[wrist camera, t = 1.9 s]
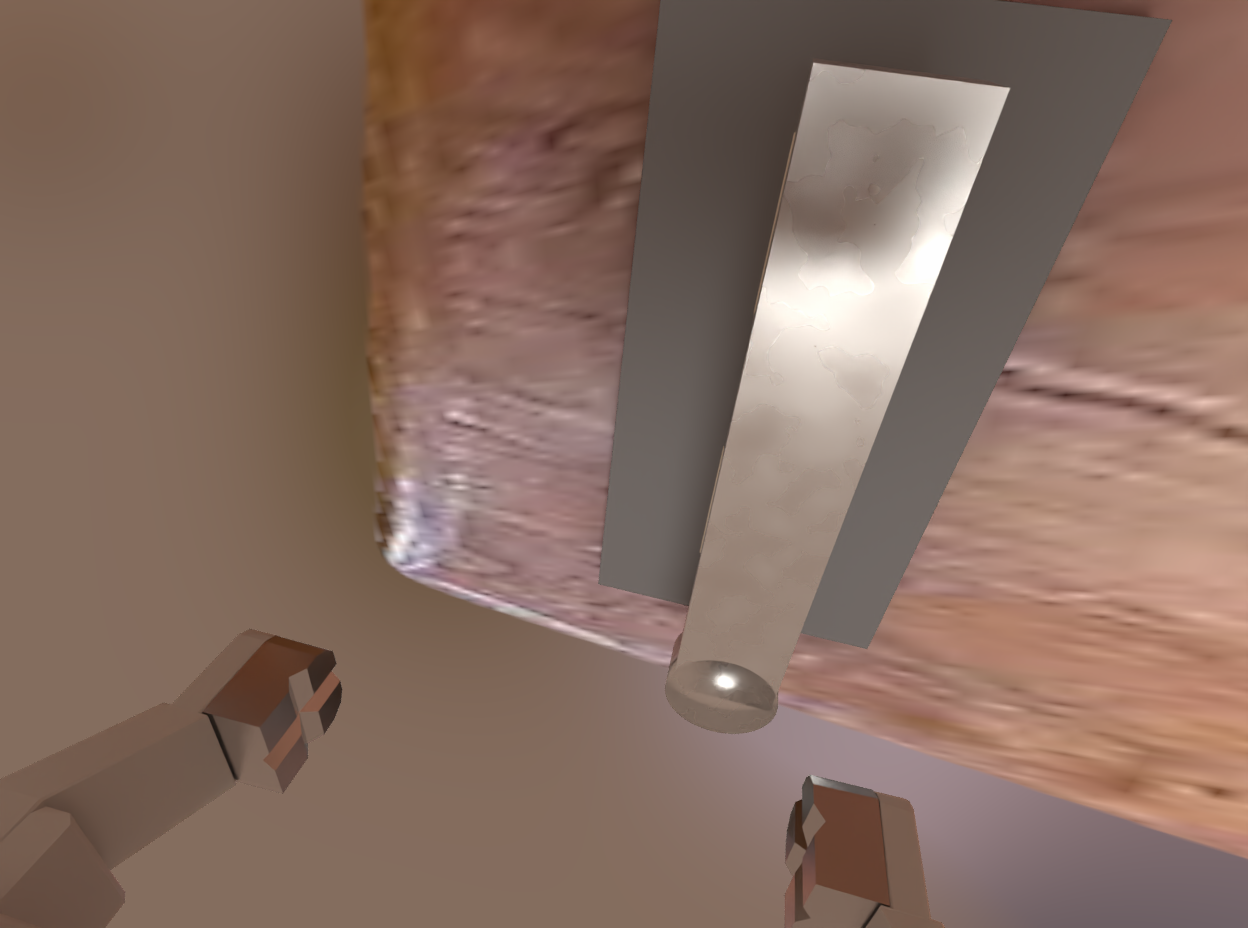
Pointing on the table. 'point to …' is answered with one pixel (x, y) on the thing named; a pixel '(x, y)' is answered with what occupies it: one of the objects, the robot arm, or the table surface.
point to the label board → (741, 237)
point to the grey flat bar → (823, 363)
